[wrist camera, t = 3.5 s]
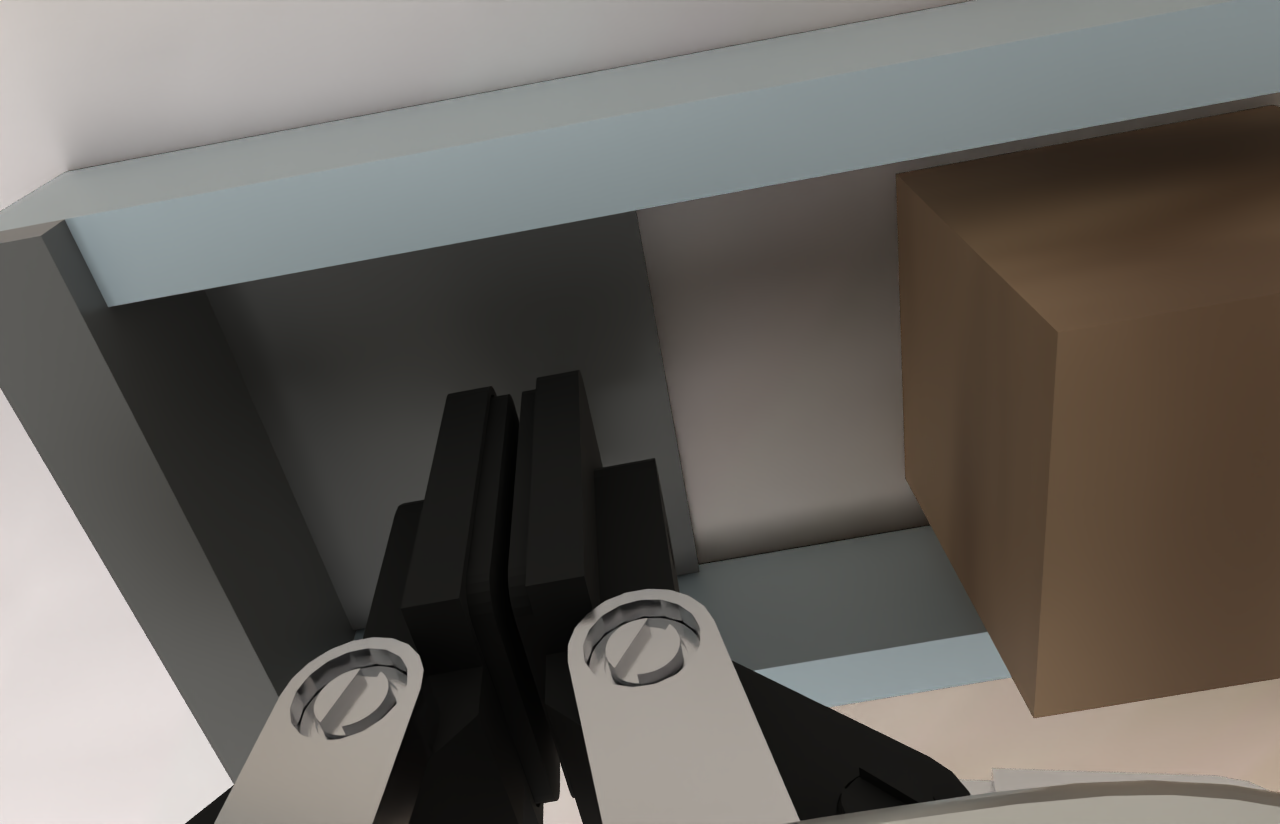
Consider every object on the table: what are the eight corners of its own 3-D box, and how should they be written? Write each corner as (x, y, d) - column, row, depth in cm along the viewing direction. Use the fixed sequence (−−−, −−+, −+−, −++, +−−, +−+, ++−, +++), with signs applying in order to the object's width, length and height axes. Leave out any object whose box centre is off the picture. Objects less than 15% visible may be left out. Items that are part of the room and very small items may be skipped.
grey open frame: (1515, -103, 11) (1793, -91, 9) (1354, 500, 16) (1505, 625, 13) (64, 171, 12) (-76, 257, 9) (309, 676, 16) (260, 827, 14)
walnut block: (1269, 103, 13) (1633, 231, 8) (1216, 421, 15) (1473, 646, 11) (893, 172, 13) (1058, 333, 8) (903, 475, 15) (1033, 718, 11)
